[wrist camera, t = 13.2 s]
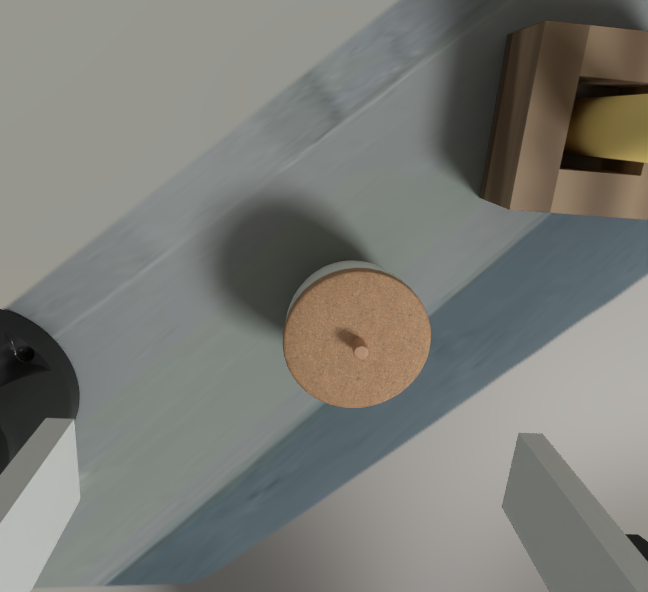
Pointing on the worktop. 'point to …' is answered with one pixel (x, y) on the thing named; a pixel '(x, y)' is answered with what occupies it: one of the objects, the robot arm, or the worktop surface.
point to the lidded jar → (355, 335)
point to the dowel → (609, 128)
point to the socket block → (563, 121)
